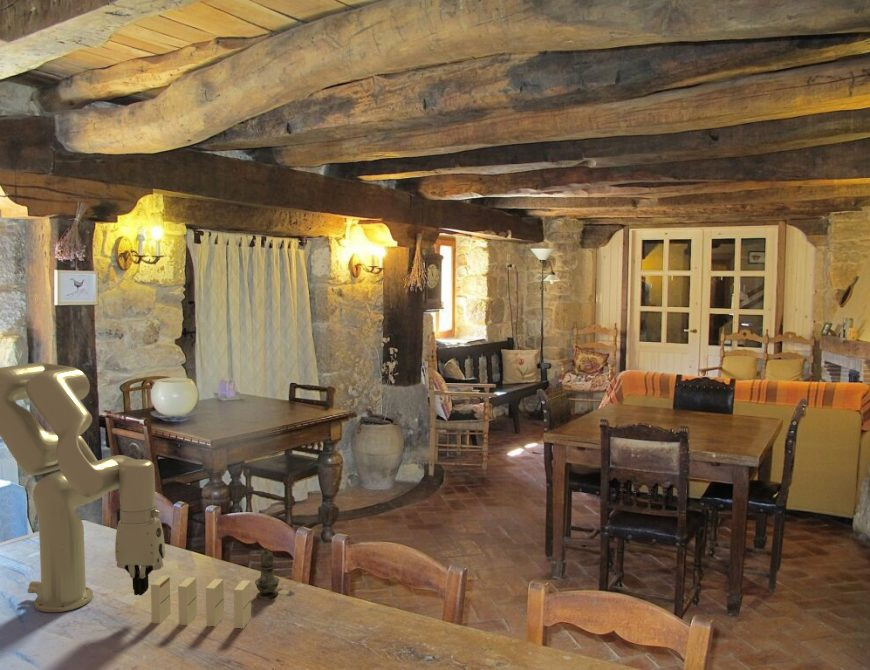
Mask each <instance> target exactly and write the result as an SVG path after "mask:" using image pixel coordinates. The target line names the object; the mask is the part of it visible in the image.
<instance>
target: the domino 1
mask: <svg viewBox="0 0 870 670" xmlns="http://www.w3.org/2000/svg"><path fill="white" fill-rule="evenodd" d="M150 602H151V603H150V605H151V608H150V609H151V611H150V612H151V624H161V623H162V622H163V621H165V619H166V618H168V617H169V616H170V615H171V614H170V613H171V576H170V575H161V576H160V577H158V578H157V579H156V580H155V581H153V582H152V583H151V584H150ZM169 614H170V615H169Z"/></svg>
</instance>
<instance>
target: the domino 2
mask: <svg viewBox="0 0 870 670" xmlns="http://www.w3.org/2000/svg"><path fill="white" fill-rule="evenodd" d="M197 586H198V585H197V577H192V576H191V577H190V576H189V577H186V579H184V580H183V581H182V582H181V583H180V584H178V586H177V588H178V592H177V593H178V594H177V595H178V597H177V598H178V625H180V626H189V624H191V622H192V621H193V620H194V619H195V618H196V617H197V616H198V599H197V597H198V596H197V592H198V591H197ZM196 615H197V616H196ZM195 616H196V617H195ZM194 617H195V618H194ZM193 618H194V619H193ZM192 619H193V620H192Z"/></svg>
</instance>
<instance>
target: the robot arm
mask: <svg viewBox="0 0 870 670" xmlns="http://www.w3.org/2000/svg"><path fill="white" fill-rule="evenodd" d="M90 386H91V383H90V380H89V379H88V377H87V374H85V373H84V372H83V370H80V369H78V368H76V367H73V366H69V365H68V366H67V365H59V364H52V363H47V362H33V363H25V364H18V365H17V364H15V365H10V366H8V365H7V366H2V367H0V438H1V439H2V441H3V443H4V444H5V446H6V447H7V449H8V451H9V452H10V454H11V455H12V458H13V459H14V460H15V462H16V464H17V465H18V466H19V468H20V469H21V470H22V471H23V472H24V473H25V474H27V476H28V475H29V476H39V475H43V474H47V473H50V472H53V471H56V472H53V473H51V474H48V475H46V476H44V477H42V478H41V479H40V480H39V481H37V483H36V484H35V485H34V488H33V490H32V500H33V504H34V509H35V511H36V517H37V522H38V523H37V524H38V534H39V535H38V536H39V537H38V538H39V554H40V555H39V560H40V561H39V562H40V581H37V580H36V581H35V580H34V581H33V580H32V581H30V583H29V585H28V588H27V594H36V596H37V597H36V598H35V599H34V608H35V609H36V610H37V611H40V612H43V613H62V612H67V611H72V610H74V609H78V608H81V607H83V606H85V605H87V604H88V603H89V602H90V601H91V600H92V599H93V598H94V591H93V589H92V588H90V587H88V586H86V556H85V555H86V554H85V553H86V552H85V530H84V523H83V520H81V517H80V516H79V515H78V514H77V511H76V509H77V508H79V507H82V506H84V505H87V504H89V503H92V502H95V501H97V500H98V499H101V498H102V497H103V496H104V495H105V494H107V493H109V492H111V491H115V490H119V509H120V510H119V512H120V515H119V516H120V520H118V521H117V522H118V523H117V527H116V532H115V543H114V544H115V547H114V554H115V557H114V558H115V561H116V567H117V568H119V569H122V570H125V571H126V572H127V573H128V574H129V577H130V578H131V579H132V590H133V595H134V596H142V595H144V594H145V593H146V592H147V591H148V589H149V585H150V584H149V574H151V573H152V572H153V571H157V570H161V569H162V568H163V567H164V562H163V559H165V557H166V546H165V537H164V531H163V530H164V529H163V526H162V522H161V519H160V518H159V517H161V516H162V511H161V510H158V509H157V506H156V479H155V478H156V477H155V476H156V475H155V474H156V473H155V471H156V470H155V464H154V463H153V462H152V461H150V460H148V459H143V458H142V459H135V458H133V457H130V456H127V455H122V454H118V455H112V456H109V457H106V458H102V459H100V460H98V459H97V458H96V456H95V454H94V453H93V451H92V449H91V448H90V447H89V445H88V444H87V442H86V441H85V439H84V438H83V436H81V435H83V434H84V433H85V432H86V431H87V430H88V429H89V428H90V427H91V424H92V422H93V416H92V414H91V413H90V412H89V410H88V409H87V407H86V406H85V405H84V403H83V402H82V401H81V400H83V399H85V398H86V397H87V396H88V394H89V392H90V388H91V387H90ZM26 399H27V400H28V399H29V400H30V402H32V404H33V406H34V407H35V408H36V410H37V411H38V412H39V413H40V415H41V416H42V418H43V419H44V421H45V422H46V423H47V425H48V426H49V427H50V429H51V430H52V431H48V430H46V429H44V427H43V426H42V425H41V424H40V422H39V420H38V419H37V417H36V416H35V415H34V414H33V413H32V412H31V411H30V410H28V409H27V408H26V407H23V406H21V405H20V404H18V403H17V402H16V401H23V400H26ZM57 470H60V471H57Z"/></svg>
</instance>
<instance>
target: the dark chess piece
mask: <svg viewBox="0 0 870 670" xmlns="http://www.w3.org/2000/svg"><path fill="white" fill-rule="evenodd" d="M260 554H261V556H260V565H259V568H260V577H258V578H257V579H256V580H255V581H254V584H255V586H256V588H257V590H258V592H257V594H256V599H259V600H261V601H262V600H263V601H269V600H273V599H275V598H277V597H278V596H279V592H278V591H277V588H278V586H279V583H280V578H278V577H276V576H275V574H274V568H275V564H274V554H273V552H272V551H269V548H268V547H267V548H265V550H264V551H263V552H261V553H260Z"/></svg>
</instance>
